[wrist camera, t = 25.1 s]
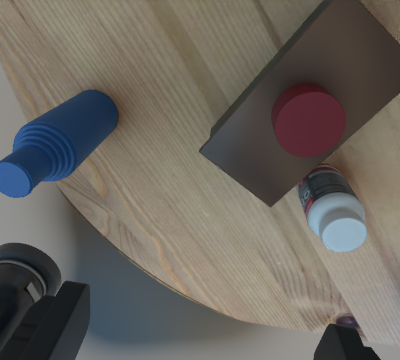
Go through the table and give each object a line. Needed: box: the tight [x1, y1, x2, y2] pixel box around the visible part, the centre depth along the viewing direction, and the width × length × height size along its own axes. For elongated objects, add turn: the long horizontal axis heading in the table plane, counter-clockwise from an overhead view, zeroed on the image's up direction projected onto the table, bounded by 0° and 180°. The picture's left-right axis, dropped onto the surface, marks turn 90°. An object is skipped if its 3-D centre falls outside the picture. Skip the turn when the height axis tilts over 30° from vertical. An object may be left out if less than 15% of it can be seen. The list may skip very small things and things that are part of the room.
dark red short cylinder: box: [271, 83, 346, 158], centre depth 27 cm, size 5×5×3 cm
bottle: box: [0, 90, 118, 198], centre depth 30 cm, size 5×5×16 cm
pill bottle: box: [297, 165, 367, 252], centre depth 34 cm, size 5×5×10 cm
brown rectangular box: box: [199, 0, 400, 207], centre depth 31 cm, size 17×9×7 cm, turn 141°
